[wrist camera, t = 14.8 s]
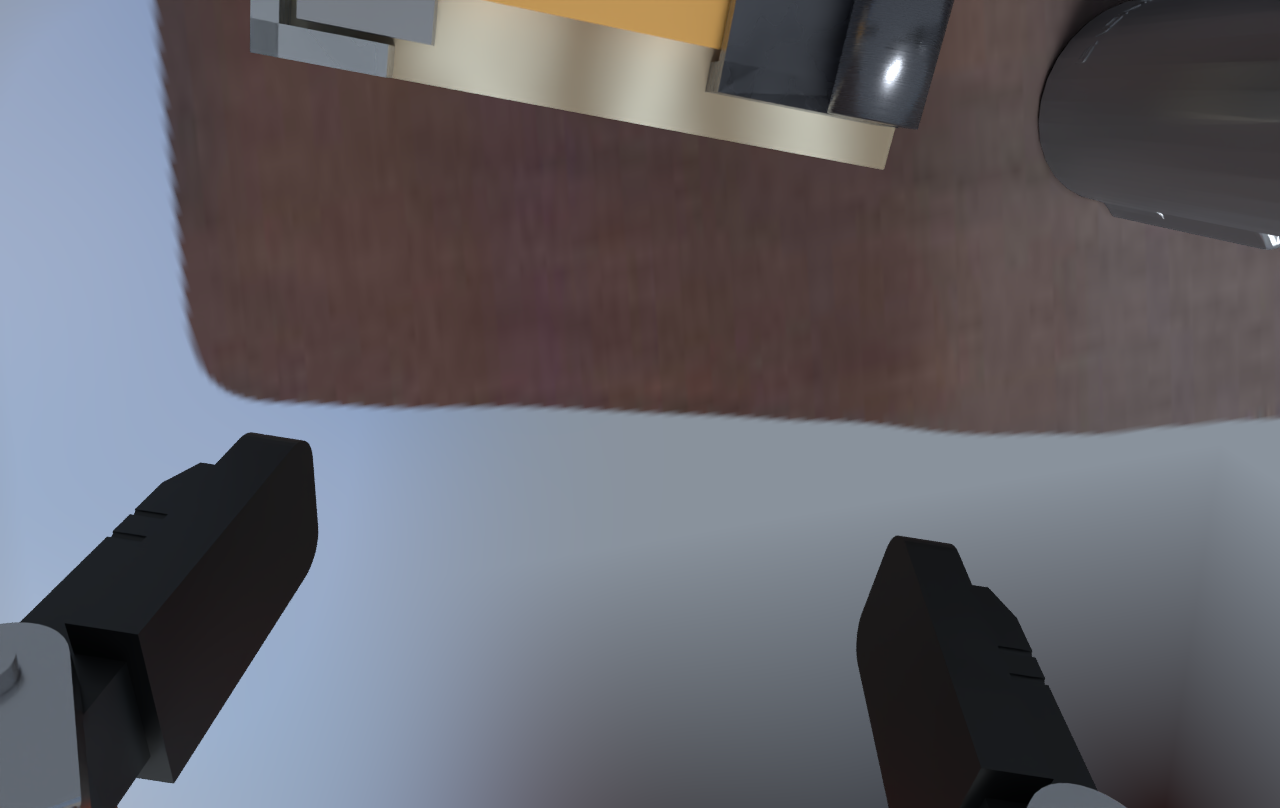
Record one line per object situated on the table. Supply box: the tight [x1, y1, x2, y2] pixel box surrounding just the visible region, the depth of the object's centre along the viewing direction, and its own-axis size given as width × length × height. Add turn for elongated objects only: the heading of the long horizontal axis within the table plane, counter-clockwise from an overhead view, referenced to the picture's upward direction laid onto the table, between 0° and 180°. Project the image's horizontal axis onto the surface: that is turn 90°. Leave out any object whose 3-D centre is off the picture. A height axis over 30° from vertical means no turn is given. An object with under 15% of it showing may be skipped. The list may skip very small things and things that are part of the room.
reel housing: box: [705, 0, 954, 129], centre depth 32 cm, size 8×6×6 cm
